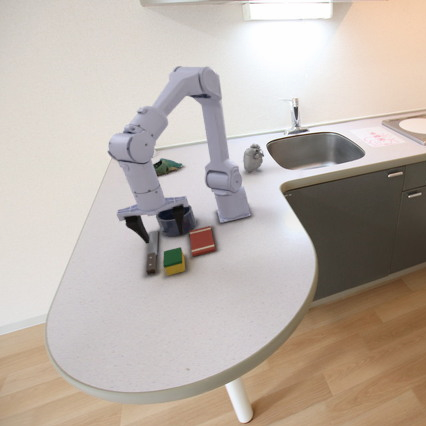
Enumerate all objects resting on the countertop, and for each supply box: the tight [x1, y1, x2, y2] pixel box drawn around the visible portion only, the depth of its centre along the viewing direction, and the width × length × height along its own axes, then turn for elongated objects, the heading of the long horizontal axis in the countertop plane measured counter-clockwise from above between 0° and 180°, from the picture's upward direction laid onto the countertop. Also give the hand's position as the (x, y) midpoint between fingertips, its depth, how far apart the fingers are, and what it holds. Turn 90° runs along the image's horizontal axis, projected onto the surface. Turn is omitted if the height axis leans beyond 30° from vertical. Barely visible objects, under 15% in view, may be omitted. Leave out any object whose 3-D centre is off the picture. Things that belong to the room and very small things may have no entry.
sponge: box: [162, 246, 186, 277], centre depth 79 cm, size 4×6×3 cm
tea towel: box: [189, 225, 216, 258], centre depth 89 cm, size 6×12×1 cm, turn 23°
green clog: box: [153, 157, 184, 176], centre depth 130 cm, size 9×20×5 cm, turn 114°
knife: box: [145, 230, 159, 276], centre depth 85 cm, size 2×20×2 cm, turn 23°
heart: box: [242, 143, 265, 174], centre depth 126 cm, size 10×10×12 cm
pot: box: [155, 203, 197, 237], centre depth 94 cm, size 10×10×6 cm
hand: (165, 237), depth 75 cm, fingers open, 7 cm apart
